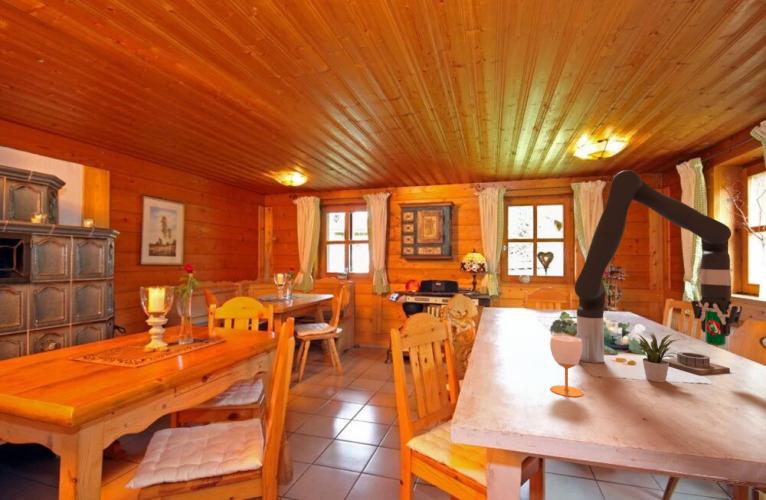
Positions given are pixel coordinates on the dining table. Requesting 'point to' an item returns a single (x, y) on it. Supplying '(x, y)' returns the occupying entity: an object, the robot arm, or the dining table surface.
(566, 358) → the cup
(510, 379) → the dining table surface
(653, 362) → the house plant
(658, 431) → the dining table surface
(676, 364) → the can holder
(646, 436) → the dining table surface
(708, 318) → the soda can
